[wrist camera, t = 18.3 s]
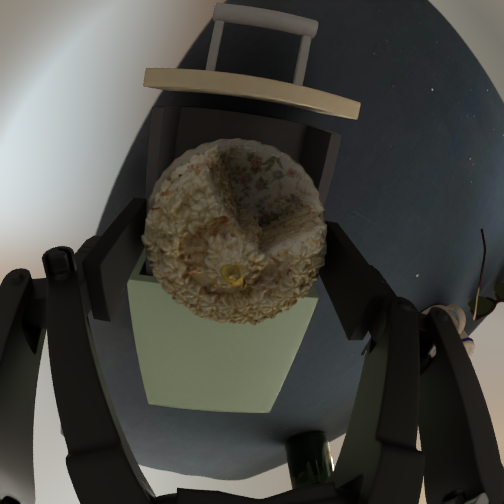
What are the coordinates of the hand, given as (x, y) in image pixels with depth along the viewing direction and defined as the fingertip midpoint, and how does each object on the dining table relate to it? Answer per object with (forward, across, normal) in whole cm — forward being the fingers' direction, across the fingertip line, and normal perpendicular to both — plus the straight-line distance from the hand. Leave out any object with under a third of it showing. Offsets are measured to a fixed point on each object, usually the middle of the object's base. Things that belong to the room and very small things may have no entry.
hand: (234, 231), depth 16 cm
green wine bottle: (+11, +25, -58) cm, 64 cm away
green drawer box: (+11, 0, -15) cm, 19 cm away
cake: (0, 0, 0) cm, 0 cm away
